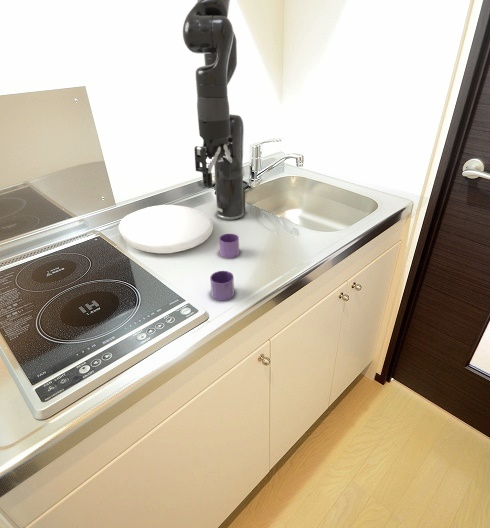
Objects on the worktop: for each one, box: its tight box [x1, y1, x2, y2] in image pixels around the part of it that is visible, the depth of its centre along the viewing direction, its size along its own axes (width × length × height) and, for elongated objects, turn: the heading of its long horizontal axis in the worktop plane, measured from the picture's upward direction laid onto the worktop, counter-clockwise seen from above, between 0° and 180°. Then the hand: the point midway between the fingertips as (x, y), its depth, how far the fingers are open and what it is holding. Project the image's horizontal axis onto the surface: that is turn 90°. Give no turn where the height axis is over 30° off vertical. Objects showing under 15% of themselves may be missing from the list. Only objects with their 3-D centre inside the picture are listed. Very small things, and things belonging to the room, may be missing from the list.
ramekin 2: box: [209, 270, 235, 302], centre depth 89 cm, size 6×6×5 cm
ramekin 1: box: [218, 233, 240, 259], centre depth 105 cm, size 6×6×5 cm
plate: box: [118, 204, 214, 254], centre depth 113 cm, size 28×6×27 cm
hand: (217, 181), depth 96 cm, fingers open, 8 cm apart
